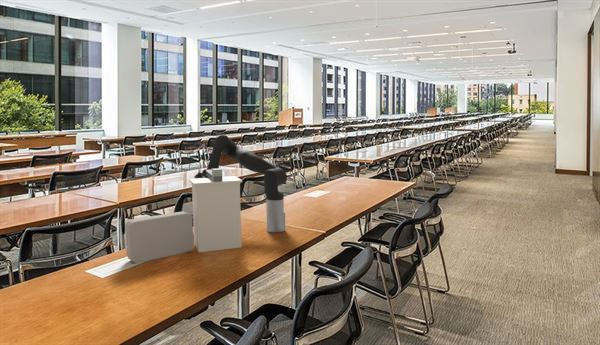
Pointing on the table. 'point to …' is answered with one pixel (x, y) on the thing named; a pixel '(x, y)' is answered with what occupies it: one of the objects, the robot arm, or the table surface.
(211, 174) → the bar
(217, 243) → the tall stand
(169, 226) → the rounded white slab
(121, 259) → the table surface
